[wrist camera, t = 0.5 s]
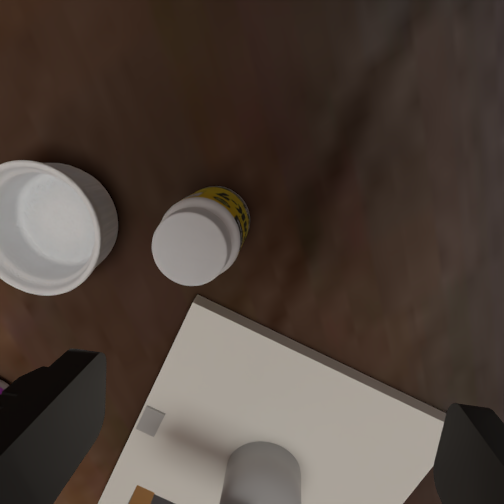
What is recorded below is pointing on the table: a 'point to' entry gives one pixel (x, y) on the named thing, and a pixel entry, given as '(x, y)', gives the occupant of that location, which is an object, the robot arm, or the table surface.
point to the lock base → (270, 424)
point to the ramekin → (52, 226)
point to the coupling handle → (146, 497)
